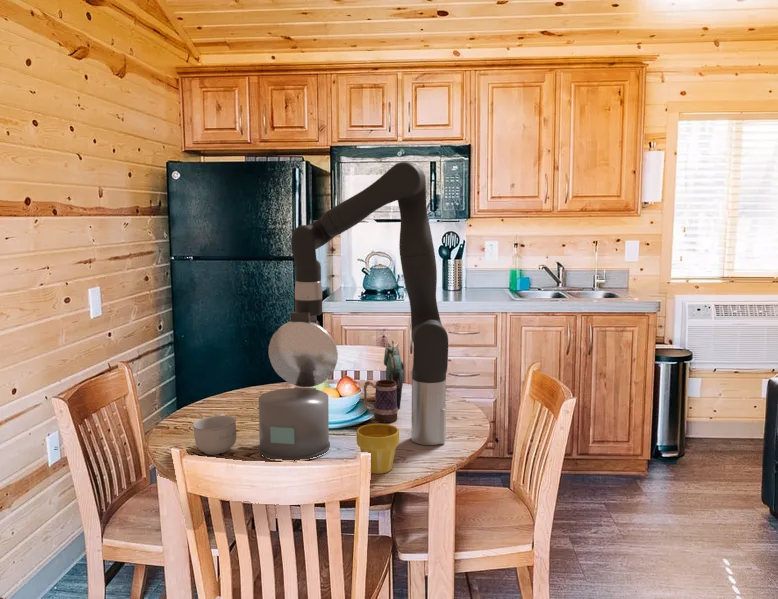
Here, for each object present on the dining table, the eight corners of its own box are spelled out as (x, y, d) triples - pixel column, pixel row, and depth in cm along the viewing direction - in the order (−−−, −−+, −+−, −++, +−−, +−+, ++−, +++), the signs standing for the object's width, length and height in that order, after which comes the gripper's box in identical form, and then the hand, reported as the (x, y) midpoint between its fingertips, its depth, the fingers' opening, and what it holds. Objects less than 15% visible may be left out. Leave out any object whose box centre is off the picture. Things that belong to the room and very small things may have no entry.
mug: (397, 416, 195) (398, 378, 194) (397, 423, 188) (397, 384, 186) (364, 415, 195) (364, 377, 194) (362, 423, 188) (362, 383, 187)
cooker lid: (338, 388, 173) (340, 383, 176) (333, 314, 167) (336, 310, 169) (271, 385, 176) (275, 380, 179) (264, 312, 170) (268, 308, 173)
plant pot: (347, 470, 153) (347, 431, 152) (372, 457, 162) (372, 420, 160) (383, 480, 147) (383, 440, 146) (407, 466, 156) (407, 428, 155)
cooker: (338, 437, 176) (337, 388, 174) (318, 465, 156) (318, 410, 155) (274, 433, 179) (273, 385, 177) (247, 460, 160) (245, 406, 158)
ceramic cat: (383, 392, 221) (383, 336, 218) (401, 392, 221) (402, 336, 218) (386, 410, 201) (386, 348, 198) (406, 409, 201) (407, 348, 199)
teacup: (226, 459, 160) (225, 429, 159) (186, 456, 162) (185, 426, 161) (247, 440, 174) (247, 412, 172) (210, 438, 175) (209, 409, 174)
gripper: (314, 301, 169) (315, 364, 172) (328, 294, 182) (328, 353, 184) (287, 300, 170) (289, 363, 173) (303, 293, 183) (303, 352, 186)
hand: (309, 358), depth 179 cm, fingers closed
